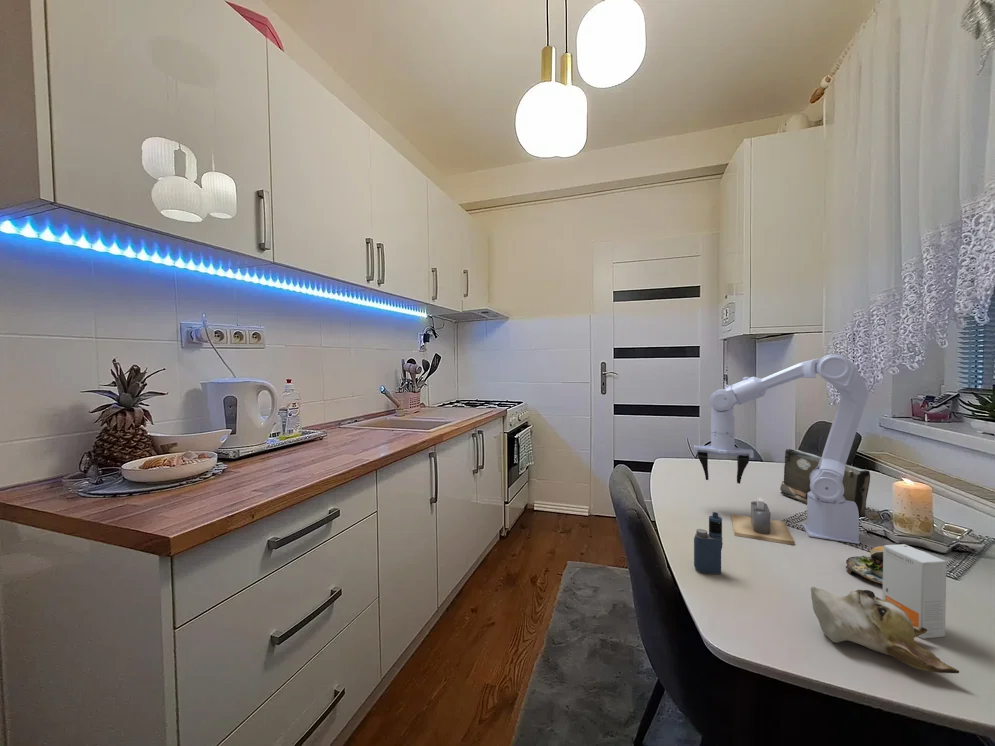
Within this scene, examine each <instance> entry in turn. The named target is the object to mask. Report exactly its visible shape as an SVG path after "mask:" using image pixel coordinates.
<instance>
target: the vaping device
mask: <svg viewBox="0 0 995 746" xmlns="http://www.w3.org/2000/svg"><path fill="white" fill-rule="evenodd" d="M695 532H696V533H695V534H694V537H693V565H694V569H695V571H697V573H702V574H710V575H711V574H712V575H722V549H723V544H724V543H723V518H722V517H721V516H719V512H717V511H716V512H715V511H713V512H712V515H709V516H708V531H707V530H705V529H701V528H697V529H696V531H695Z"/></svg>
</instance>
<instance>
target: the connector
mask: <svg viewBox="0 0 995 746" xmlns="http://www.w3.org/2000/svg"><path fill="white" fill-rule="evenodd" d="M750 517H751V524H752V527H753V530H754V531H755V532H757V533H759V534H770V520H771V511H770V508H769V507H768V504H767V502H766V503H765V500H764V497H763V498H762V497H756V501H755V500H754V501H751V502H750Z"/></svg>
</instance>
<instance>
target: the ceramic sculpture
mask: <svg viewBox="0 0 995 746" xmlns="http://www.w3.org/2000/svg"><path fill="white" fill-rule="evenodd" d="M810 592H811V593H810V594H811V603H812V610H813V613H814V614H815V616H816V618H817V619H818V622H819V626H820V629H821V631H822V632H823V634H824V635H825V636H826V637H827V638H828V639H829V640H830V641H831V642H833V643H841V642H844V641H850V642H852V643H855V644H858V645H861V646H863V647H865V648H868V649H869V650H872V651H875V652H877V653H881V654H883V655H887V656H891V657H893V658H895V659H896V660H898V661H900V662H901V663H903V664H906V665H907V666H910V667H911V668H914V669H917V670H919V671H926V672H931V673H939V674H959V673H960V670H958V669H956V668H955V667H953V666H951V665H949V664H947V663H945V662H944V661H942V660H941V659H940V658H939V657H937V656H936V655H935V654H934V653H932V652H931V651H930V650H928V649H926V648H924V647H921V646H920V645H919V644H917V643H916V642H915V638H917V637H918V636H919V635H921V634H924V633H926V632H927V629H926V628H923V627H916V626H913V624H912V622H911V620H910V619H909V618H908V616H907V615H906V614H905V613H904V612H903V611H902V610H901V609H900V608H899V607H897V606H896V605H895V604H893V603H892V602H890V601H887V600H882V599H881V598H880V597H878V596H876V595H875V593H874V591H873V590H872V591H871V590H869V589H856V590H851V591H850V592H849V593H848V594H847V595H845V596H841V595H837V594H834V593H832V592H829V591H827V590H825V589H822V588H817V587H815V586H811V587H810ZM918 638H919V637H918Z"/></svg>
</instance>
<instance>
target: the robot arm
mask: <svg viewBox="0 0 995 746" xmlns="http://www.w3.org/2000/svg"><path fill="white" fill-rule="evenodd" d="M816 374H817V375H818V376H820V377H821V378H823V380H824V381H827V382H828V383H830V384H832V386H833V388H834V389H835V390H836V391H837V392H838V393H839V395H840V399H839V402H838V405H837V408H836V411H835V414H834V417H833V420H832V423H831V426H830V429H829V433H828V436H827V439H826V442H825V444H824V445H825V446H824V448H823V451H822V455H821V456H820V457H821V459H820V461H819V464H818V466H817V467H816V468H815V469H814V470H813V471H812V472H811V473H810V477H809V478H810V489H811V491H810V492H808V493H807V495H808V496H807V504H806V506H807V508H806V514H807V515H806V517H807V518H806V519H807V520H806V521H807V522H806V523H804V522H803V523H802V527H803V528H804V531H805V532H806V534H807V535H808V536H809V537H812V538H818V539H823V540H829V541H830V540H831V541H836V542H844V543H851V544H857V545H858V544H861V541H860V520H859V512H858V507H857V505H856V503H855V502H853V501H848V500H845V497H843V494H844V486H843V483H842V480H843V477H844V471H845V465H847V461H848V458H849V456H850V452H851V450H852V446H853V443H854V440H855V437H856V434H857V431H858V428H859V424H860V422H861V419H862V417H863V413H864V410H865V407H866V404H867V400H868V399H869V394H870V393H869V389H868V387H867V385H866V383H865V382H864V379H863V378H862V376H861V373H860V371H859V369H858V366H856V365H855V364H854V363H853V362H851V360H849V359H848V358H847V357H846V356H844V355H841V354H834V353H833V354H828V355H825V356H822V357H821V358H814V359H809V360H806V361H802V362H798V363H796V364H794V365H792V366H789V367H787V368H784V369H782V370H780V371H777V372H775V373H772V374H770V375H767V376H765V377H763V378H762V377H761V378H760V377H756V376H751V377H749V376H745V377H742V380H741V381H739V382H736V383H734V384H731V385H730V384H725V385H724V388H725V389H724V388H721V389H720V388H719V389H717V390H715V391H714V392H712V393H711V395H710V396H709V404H710V406H711V415H710V445H695V444H694V445H693V454H697V457H698V460H699V461H700V464H701V466H702V468H703V472H704V475H705V480H706V481H709V465H708V463H709V462H708V461H709V458H708V457H709V456H708V455H716V456H728V457H729V456H730V457H736V460H737V462H736V465H737V472H736V483H737V484H740V485H741V481H742V476H743V474H744V471H745V469H746V468H747V466H748V464H749V461H750V459H754V458H755V457H754V453H755V452H754V450H753V449H750V448H749V449H747V448H740V447H735V436H736V434H735V415H734V414H735V409H734V406H736V405H737V406H740V405H742V404H746V403H749V402H751V401H754V400H756V399H760V398H763V397H764V396H765V395H766V393H767V390H769V389H772V388H774V387H778V386H780V385H784V384H786V383H789V382H791V381H795V380H797V379H801V378H805V379H817V375H816Z"/></svg>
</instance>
